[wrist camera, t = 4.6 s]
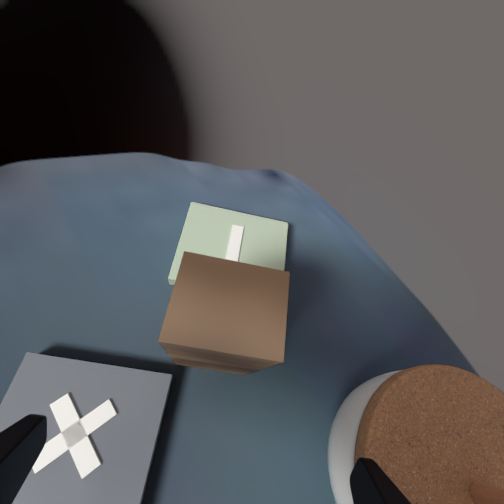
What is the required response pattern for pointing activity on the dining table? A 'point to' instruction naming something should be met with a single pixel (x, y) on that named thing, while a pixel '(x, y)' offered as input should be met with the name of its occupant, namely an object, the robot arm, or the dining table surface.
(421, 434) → the lidded jar
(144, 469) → the tile
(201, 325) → the walnut block
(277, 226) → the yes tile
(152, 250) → the dining table surface
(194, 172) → the dining table surface
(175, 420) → the dining table surface
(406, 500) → the robot arm
